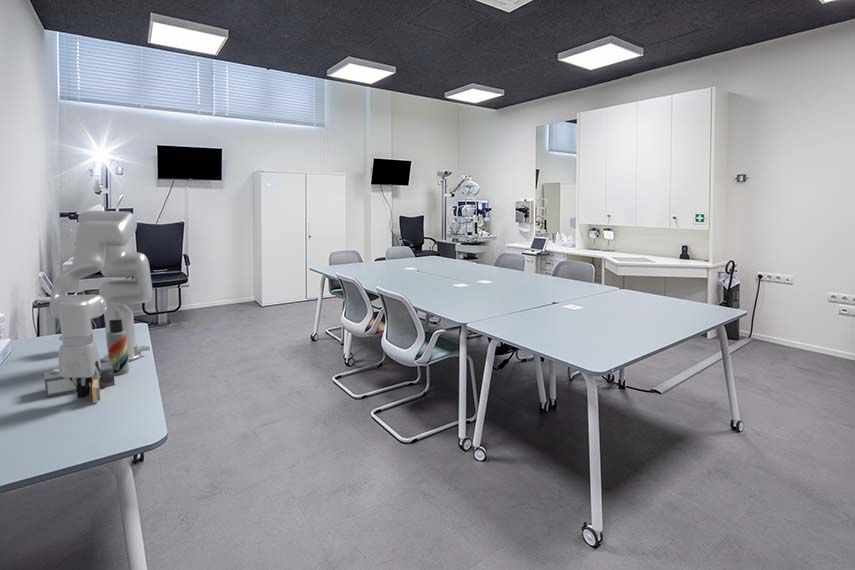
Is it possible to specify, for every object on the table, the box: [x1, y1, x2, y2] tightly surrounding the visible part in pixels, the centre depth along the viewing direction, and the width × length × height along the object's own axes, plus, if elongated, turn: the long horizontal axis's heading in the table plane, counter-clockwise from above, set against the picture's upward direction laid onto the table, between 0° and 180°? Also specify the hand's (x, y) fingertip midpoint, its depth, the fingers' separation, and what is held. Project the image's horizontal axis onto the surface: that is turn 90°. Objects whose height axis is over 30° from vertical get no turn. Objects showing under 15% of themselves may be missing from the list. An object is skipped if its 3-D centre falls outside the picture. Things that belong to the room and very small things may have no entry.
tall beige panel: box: [91, 378, 101, 404], centre depth 149 cm, size 14×2×5 cm, turn 33°
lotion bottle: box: [107, 319, 130, 376], centre depth 168 cm, size 6×6×20 cm
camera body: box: [43, 362, 116, 398], centre depth 155 cm, size 18×9×7 cm, turn 130°
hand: (83, 396), depth 146 cm, fingers closed
